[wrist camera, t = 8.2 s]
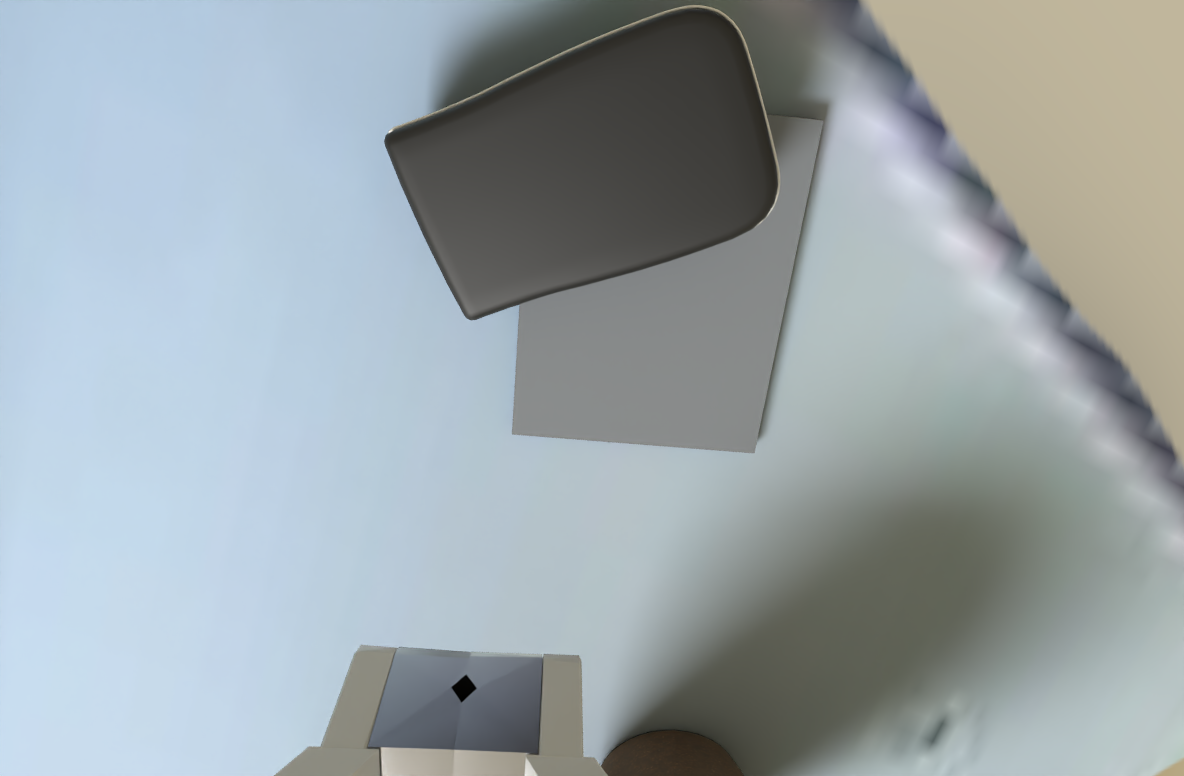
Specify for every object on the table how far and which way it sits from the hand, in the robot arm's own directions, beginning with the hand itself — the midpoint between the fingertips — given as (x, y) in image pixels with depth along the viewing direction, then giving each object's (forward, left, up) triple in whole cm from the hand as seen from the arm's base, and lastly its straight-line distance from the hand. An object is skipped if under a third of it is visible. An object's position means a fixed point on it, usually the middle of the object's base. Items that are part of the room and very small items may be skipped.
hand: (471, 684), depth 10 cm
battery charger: (-4, +2, -18) cm, 19 cm away
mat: (+4, 0, -20) cm, 20 cm away
